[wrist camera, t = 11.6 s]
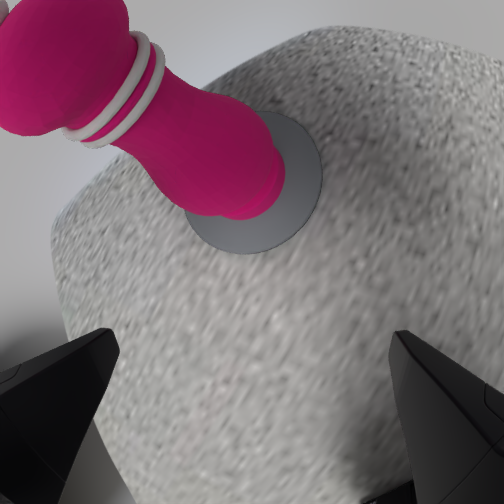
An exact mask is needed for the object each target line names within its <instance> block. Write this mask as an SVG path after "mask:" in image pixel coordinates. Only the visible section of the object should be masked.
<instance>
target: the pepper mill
mask: <svg viewBox="0 0 504 504" xmlns="http://www.w3.org/2000/svg"><path fill="white" fill-rule="evenodd" d="M0 127H2V128H3V129H5V130H6V131H9V132H10V133H13V134H18V135H21V136H39V135H43V134H46V133H48V132H50V131H53V130H56V129H58V128H61V130H62V132H63V135H64V136H65V137H66V138H67V139H68V140H71V141H80V142H81V143H82V144H83V145H84V146H85V147H88V148H92V149H93V148H101V147H104V146H106V145H108V144H110V145H113V146H117V147H119V148H120V149H122V150H124V151H126V152H127V153H129V154H131V155H133V156H134V157H135V158H136V159H137V160H138V161H139V162H140V163H141V164H142V166H143V167H144V168H145V170H146V171H147V172H148V174H149V175H150V177H151V178H152V180H153V181H154V183H155V184H156V186H157V187H158V188H159V189H160V191H161V192H162V193H163V194H164V195H165V196H166V197H167V198H169V199H170V200H171V201H172V202H173V203H174V204H176V205H178V206H179V207H181V208H183V209H185V210H187V211H189V212H191V213H194V214H196V215H202V216H220V215H221V216H223V217H225V218H228V219H232V220H247V219H251V218H254V217H256V216H259V215H260V214H262V213H264V212H265V211H266V210H268V209H269V208H270V207H271V206H272V205H273V204H274V202H275V201H276V200H277V198H278V197H279V195H280V193H281V191H282V188H283V185H284V181H285V165H284V162H283V159H282V156H281V154H280V153H279V151H278V150H277V149H276V148H275V146H274V145H273V140H272V137H271V133H270V131H269V129H268V127H267V125H266V124H265V122H264V121H263V120H262V119H261V117H260V116H259V115H257V114H256V113H255V112H254V111H253V110H252V109H251V108H250V107H249V106H247V105H245V104H244V103H242V102H240V101H238V100H236V99H234V98H231V97H228V96H225V95H220V94H215V93H210V92H206V91H203V90H200V89H198V88H195V87H193V86H191V85H189V84H188V83H186V82H185V81H183V80H182V79H180V78H179V77H177V76H176V75H174V74H173V73H172V72H171V71H170V70H169V69H168V68H167V67H166V66H165V55H164V52H163V50H162V49H161V48H160V47H159V46H158V45H157V44H155V43H152V42H150V41H149V39H148V37H147V36H146V35H145V34H144V33H142V32H140V31H129V17H128V11H127V7H126V5H125V4H124V1H123V0H22V1H20V2H19V3H18V4H17V5H16V6H15V7H14V8H13V9H12V11H11V12H10V13H9V8H8V4H7V2H6V1H5V0H0Z"/></svg>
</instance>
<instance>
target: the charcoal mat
mask: <svg viewBox="0 0 504 504" xmlns="http://www.w3.org/2000/svg"><path fill="white" fill-rule="evenodd" d="M254 112H255V113H256V114H257V115H259V116H260V117H261V119H262V120H263V121H264V122H265V124H266V125H267V127H268V129H269V131H270V133H271V137H272V140H273V145H274V146H275V148H276V149H277V150H278V151H279V153H280V154H281V156H282V159H283V162H284V165H285V181H284V185H283V188H282V191H281V193H280V195H279V197H278V198H277V200H276V201H275V202H274V204H273V205H272V206H271V207H270V208H269V209H268V210H266V211H265V212H264V213H262V214H260V215H259V216H256V217H254V218H251V219H247V220H232V219H228V218H225V217H223V216H221V215H220V216H202V215H196V214H194V213H191V212H189V211H187V210H185V209H184V211H185V214H186V216H187V219H188V221H189V223H190V225H191V227H192V228H193V229H194V231H195V232H196V233H197V235H198V236H199V237H201V238H202V239H203V240H204V241H205V242H207V243H208V244H209V245H211V246H213V247H215V248H217V249H220V250H223V251H226V252H230V253H236V254H254V253H260V252H264V251H267V250H270V249H272V248H275V247H277V246H279V245H280V244H282V243H284V242H286V241H287V240H288V239H290V238H291V237H292V236H294V235H295V234H296V233H297V232H298V231H299V230H300V229H301V228H302V227H303V225H304V224H305V223H306V221H307V220H308V219H309V217H310V216H311V214H312V212H313V210H314V208H315V206H316V204H317V201H318V199H319V195H320V191H321V186H322V165H321V160H320V156H319V153H318V150H317V148H316V146H315V144H314V142H313V140H312V139H311V137H310V136H309V134H308V133H307V132H306V131H305V130H304V129H303V128H302V127H301V126H300V125H299V124H298V123H296V122H295V121H294V120H292V119H290V118H288V117H286V116H284V115H281V114H278V113H274V112H267V111H254Z"/></svg>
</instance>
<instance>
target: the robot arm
mask: <svg viewBox="0 0 504 504" xmlns="http://www.w3.org/2000/svg"><path fill="white" fill-rule="evenodd" d="M119 353H120V349H119V345H118V343H117V340H116V337H115V335H114V332H113V331H112V329H110V328H99V329H97V330H95V331H92V332H90V333H88V334H86V335H84V336H81V337H79V338H77V339H75V340H72V341H70V342H68V343H66V344H64V345H61V346H59V347H57V348H55V349H52V350H50V351H48V352H46V353H43V354H41V355H39V356H37V357H34V358H33V359H30V360H28V361H26V362H23V363H22V364H19V365H16V366H14V367H12V368H9V369H7V370H5V371H2V372H0V504H59V501H60V498H61V495H62V493H63V490H64V487H65V485H66V481H67V479H68V476H69V474H70V471H71V469H72V466H73V464H74V461H75V459H76V457H77V454H78V452H79V449H80V447H81V445H82V442H83V440H84V437H85V435H86V433H87V431H88V429H89V426H90V424H91V422H92V420H93V417H94V415H95V413H96V411H97V409H98V406H99V404H100V402H101V400H102V398H103V396H104V394H105V391H106V389H107V387H108V384H109V381H110V378H111V376H112V373H113V370H114V367H115V365H116V362H117V359H118V357H119ZM389 364H390V370H391V376H392V382H393V389H394V395H395V401H396V406H397V410H398V413H399V417H400V421H401V425H402V429H403V433H404V437H405V442H406V446H407V450H408V455H409V460H410V464H411V469H412V474H413V480H412V481H410V482H408V483H407V484H404V485H403V486H401V487H399V488H397V489H395V490H392V491H390V492H388V493H386V494H384V495H382V496H380V497H378V498H375V499H373V500H371V501H368V502H366V503H363V504H504V394H502V393H501V392H499V391H498V390H496V389H495V388H493V387H492V386H490V385H489V384H487V383H485V382H484V381H483V380H481V379H480V378H478V377H477V376H475V375H474V374H472V373H471V372H469V371H468V370H467V369H465V368H464V367H462V366H461V365H459V364H458V363H456V362H455V361H453V360H452V359H450V358H449V357H447V356H446V355H444V354H443V353H441V352H440V351H438V350H437V349H435V348H434V347H432V346H431V345H429V344H428V343H426V342H424V341H423V340H421V339H420V338H418V337H417V336H415V335H414V334H412V333H411V332H409V331H408V330H400V331H395V332H394V333H393V336H392V340H391V345H390V350H389Z"/></svg>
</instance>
